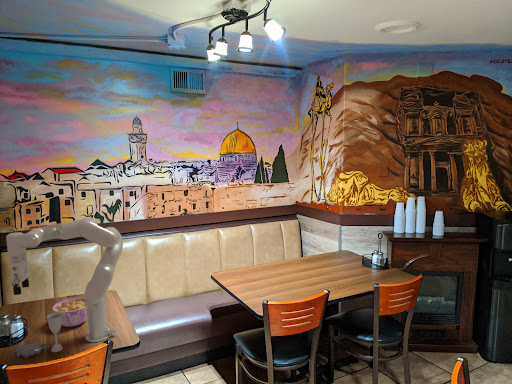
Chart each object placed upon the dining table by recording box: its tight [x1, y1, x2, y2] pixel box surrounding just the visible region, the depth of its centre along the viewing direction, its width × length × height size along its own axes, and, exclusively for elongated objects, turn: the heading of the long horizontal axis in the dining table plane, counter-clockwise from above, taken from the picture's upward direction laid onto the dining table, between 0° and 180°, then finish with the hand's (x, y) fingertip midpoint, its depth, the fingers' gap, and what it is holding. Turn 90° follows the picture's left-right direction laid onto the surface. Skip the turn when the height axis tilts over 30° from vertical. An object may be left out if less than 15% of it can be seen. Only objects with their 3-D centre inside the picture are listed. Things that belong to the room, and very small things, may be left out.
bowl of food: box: [52, 297, 88, 328], centre depth 217 cm, size 20×20×12 cm
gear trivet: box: [16, 341, 47, 359], centre depth 188 cm, size 13×13×2 cm
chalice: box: [46, 312, 64, 353], centre depth 189 cm, size 7×7×18 cm
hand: (21, 290), depth 188 cm, fingers open, 9 cm apart
